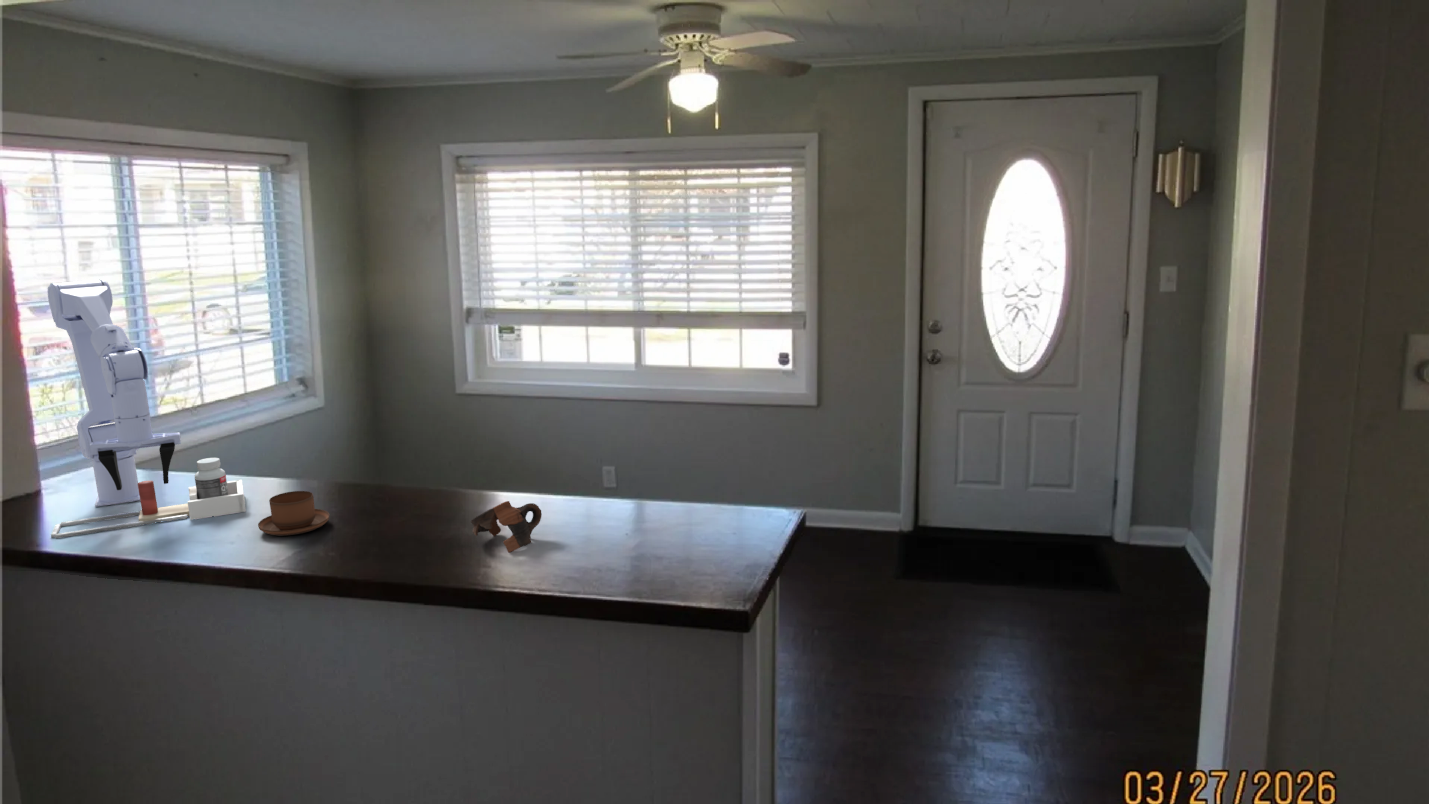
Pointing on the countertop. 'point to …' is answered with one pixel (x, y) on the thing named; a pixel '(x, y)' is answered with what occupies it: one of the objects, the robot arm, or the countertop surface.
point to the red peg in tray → (150, 503)
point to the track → (106, 528)
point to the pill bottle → (210, 479)
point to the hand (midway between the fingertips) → (143, 485)
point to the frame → (219, 503)
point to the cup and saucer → (293, 514)
